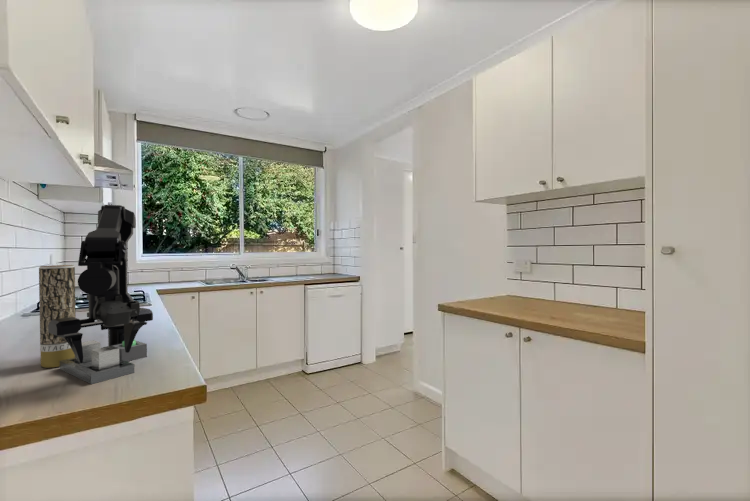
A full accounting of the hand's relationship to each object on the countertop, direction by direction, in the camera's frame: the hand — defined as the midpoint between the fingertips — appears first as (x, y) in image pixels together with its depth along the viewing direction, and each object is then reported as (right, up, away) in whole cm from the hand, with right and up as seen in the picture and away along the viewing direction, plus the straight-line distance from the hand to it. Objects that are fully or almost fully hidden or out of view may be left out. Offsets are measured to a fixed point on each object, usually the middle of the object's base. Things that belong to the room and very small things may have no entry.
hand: (105, 357), depth 84 cm
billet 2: (0, -4, 0) cm, 4 cm away
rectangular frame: (-4, -4, +3) cm, 6 cm away
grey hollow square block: (-3, -4, +13) cm, 14 cm away
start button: (-3, -2, +13) cm, 13 cm away
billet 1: (-8, -4, +6) cm, 11 cm away
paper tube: (-18, -4, +8) cm, 20 cm away
